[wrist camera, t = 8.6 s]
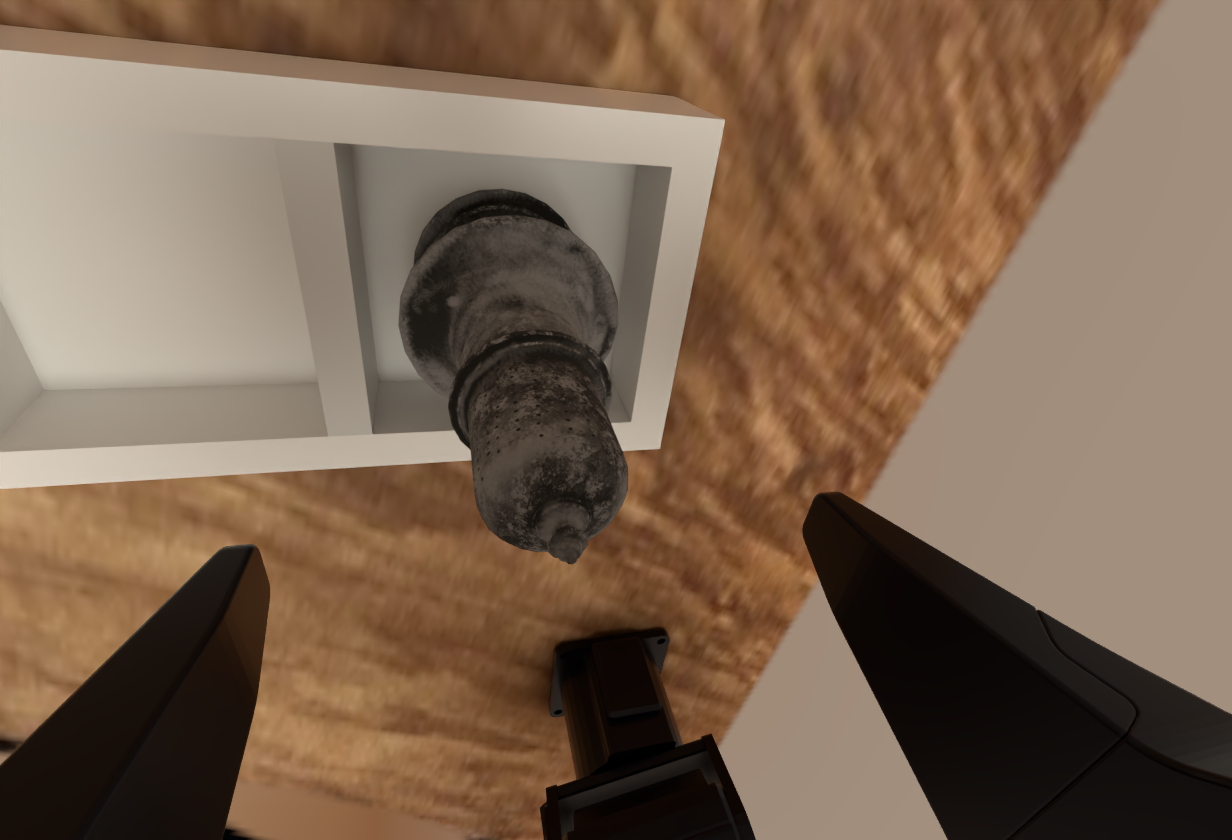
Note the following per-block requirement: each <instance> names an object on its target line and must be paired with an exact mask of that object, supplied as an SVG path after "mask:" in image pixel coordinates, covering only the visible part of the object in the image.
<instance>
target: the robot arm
mask: <svg viewBox="0 0 1232 840" xmlns="http://www.w3.org/2000/svg"><path fill="white" fill-rule="evenodd" d="M802 531H803V538H804V541H805V544H806V546H807V549H808V551H809V554H810V557H811V559H812V562H813V564H814V567H815V569H816V572H817V575H818V577H819V580H820V582H821V585H822V587H823V590H824V592H825V595H826V598H827V600H828V603H829V605H830V607H831V610H832V612H833V614H834V616H835V619H836V621H837V623H838V625H839V627H840V629H841V631H842V633H843V635H844V637H845V639H846V640H847V643H848V645H849V646H850V648H851V650H852V652H853V654H854V656H855V658H856V660H857V662H858V664H859V666H860V668H861V670H862V672H863V674H864V676H865V678H866V680H867V682H868V684H869V686H870V688H871V690H872V691H873V694H874V696H875V698H876V699H877V701H878V703H879V705H880V707H881V709H882V711H883V713H884V715H885V717H886V719H887V721H888V723H889V725H890V727H891V729H892V731H893V733H894V735H895V737H896V739H897V741H898V742H899V745H900V746H901V749H902V751H903V752H904V754H905V756H906V758H907V760H908V762H909V764H910V766H911V768H912V770H913V772H914V774H915V776H916V778H917V780H918V782H919V784H920V786H921V788H922V790H923V792H924V794H925V795H926V798H927V800H928V802H929V804H930V806H931V808H932V810H933V811H934V813H935V815H936V817H937V819H938V821H939V823H940V825H941V827H942V829H943V831H944V833H945V835H946V837H947V839H948V840H1232V714H1230V713H1228V712H1226V711H1224V710H1222V709H1220V708H1218V707H1216V706H1215V705H1213V704H1211V703H1209V702H1207V701H1205V700H1203V699H1201V698H1199V697H1197V696H1196V695H1194V694H1192V693H1190V692H1188V691H1186V690H1184V689H1182V688H1180V687H1178V686H1176V685H1175V684H1172V683H1171V682H1169V681H1167V680H1165V679H1163V678H1161V677H1159V676H1157V675H1156V674H1154V673H1152V672H1150V671H1148V670H1146V669H1144V668H1142V667H1140V666H1138V665H1136V664H1135V663H1133V662H1131V661H1129V660H1127V659H1125V658H1123V657H1122V656H1119V655H1118V654H1116V653H1114V652H1112V651H1110V650H1109V649H1107V648H1105V647H1103V646H1101V645H1099V644H1097V643H1096V642H1094V641H1092V640H1090V639H1088V638H1087V637H1085V636H1083V635H1082V634H1080V633H1078V632H1076V631H1075V630H1073V629H1071V628H1069V627H1068V626H1066V625H1064V624H1062V623H1061V622H1059V621H1057V620H1055V619H1054V618H1052V617H1051V616H1049V615H1047V614H1045V613H1044V612H1042V611H1041V610H1036V609H1035V607H1034V606H1032V605H1030V604H1029V603H1027V602H1025V601H1024V600H1022V599H1020V598H1019V597H1017V596H1015V595H1013V594H1012V593H1010V592H1008V591H1006V590H1005V589H1003V588H1002V587H1000V586H998V585H997V584H995V583H993V582H991V581H990V580H988V579H986V578H985V577H983V576H981V575H980V574H978V573H976V572H974V571H973V570H971V569H969V568H968V567H966V566H964V565H963V564H961V563H959V562H958V561H956V560H954V559H952V558H951V557H949V556H948V555H946V554H944V553H942V552H941V551H939V550H937V549H936V548H934V547H932V546H930V545H929V544H927V543H925V542H924V541H922V540H921V539H919V538H917V537H915V536H914V535H912V534H910V533H909V532H907V531H905V530H904V529H902V528H900V527H899V526H897V525H895V524H893V523H892V522H890V521H888V520H887V519H885V518H883V517H882V516H880V515H878V514H876V513H875V512H873V511H871V510H870V509H868V508H866V507H865V506H863V505H861V504H860V503H858V502H856V501H855V500H853V499H851V498H850V497H848V496H846V495H844V494H843V493H840V492H825V493H819V494H817V495H816V496H815V497H814V499H813V502H812V504H811V506H810V509H809V511H808V514H807V516H806V519H805V521H804V524H803V529H802ZM269 602H270V584H269V580H268V577H267V573H266V570H265V567H264V564H263V561H262V557H261V554H260V551H259V549H258V548H257V546H255V545H253V544H246V545H235V546H226V547H223V548H221V549H220V550H218V551H217V552H216V553H215V554H214V555H213V556H212V557H211V558H210V559H209V560H208V561H207V562H206V563H205V564H204V565H203V566H202V567H201V568H200V569H199V570H198V571H197V572H196V573H195V574H194V575H193V576H192V577H191V578H190V579H189V580H188V581H187V582H186V583H185V584H184V585H183V586H182V587H181V588H180V589H179V590H178V591H177V592H176V593H175V594H174V595H173V596H172V597H171V598H170V599H168V600H167V601H166V602H165V603H164V604H163V605H162V606H161V607H160V608H159V609H158V610H157V611H156V612H155V613H154V614H153V615H152V616H151V617H150V618H149V619H148V620H147V621H146V622H145V623H144V624H143V625H142V626H141V627H140V628H139V629H138V630H137V631H136V632H135V633H134V634H133V635H132V636H131V637H130V638H129V639H128V640H127V641H126V642H125V643H124V644H123V645H122V646H121V647H120V648H119V649H118V650H117V651H116V652H115V653H114V654H113V655H112V656H111V657H110V658H109V659H107V660H106V661H105V662H104V663H103V664H102V665H101V666H100V667H99V668H98V669H97V670H96V671H95V672H94V673H93V674H92V675H91V676H90V677H89V678H88V679H87V680H86V681H85V682H84V683H83V684H82V685H81V686H80V687H79V688H78V689H77V690H76V691H75V692H74V693H73V694H72V695H71V696H70V697H69V698H68V699H67V700H66V701H65V702H64V703H63V704H62V705H61V706H60V707H59V708H58V709H57V710H56V711H55V712H54V713H53V714H52V715H51V716H50V717H49V718H48V719H46V720H45V721H44V722H43V723H42V724H41V725H40V726H39V727H38V728H37V729H36V730H35V731H34V732H33V733H32V734H31V735H30V736H29V737H28V738H27V739H26V740H25V741H24V742H23V743H22V744H21V745H20V746H19V747H18V748H17V749H16V750H15V751H14V752H13V753H12V754H11V755H10V756H9V757H8V758H7V759H6V760H5V761H4V762H3V763H2V764H1V765H0V840H222V837H223V833H224V829H225V826H226V822H227V817H228V814H229V810H230V806H231V802H232V798H233V794H234V790H235V786H236V782H237V778H238V774H239V770H240V766H241V763H242V759H243V755H244V751H245V747H246V743H247V739H248V735H249V731H250V727H251V723H252V719H253V715H254V710H255V706H256V701H257V695H258V688H259V681H260V673H261V665H262V657H263V649H264V641H265V633H266V626H267V618H268V610H269ZM668 644H669V636H668V633H667V631H665V630H656V631H650V632H643V633H636V634H629V635H622V636H615V637H608V638H602V639H595V640H588V641H581V642H574V643H567V644H562V645H560V646H558V647H557V648H556V649H555V651H554V661H553V671H552V681H551V691H550V701H549V711H550V715H551V716H552V717H559V716H565V721H566V726H567V731H568V737H569V742H570V747H571V753H572V758H573V764H574V769H575V774H576V780H575V781H572V782H569V783H566V784H563V785H560V786H557V785H554V786H551V787H548V788H546V796H547V802H546V803H545V804H543V805H542V806H541V807H540V813H541V820H542V828H543V835H544V840H756V839H755V836H754V833H753V830H752V827H751V825H750V822H749V819H748V816H747V814H746V811H745V809H744V807H743V804H742V802H741V800H740V797H739V795H738V793H737V791H736V788H735V786H734V784H733V781H732V779H731V777H730V775H729V773H728V770H727V768H726V766H725V763H724V761H723V759H722V757H721V754H720V752H719V750H718V747H717V745H716V743H715V741H714V738H713V736H712V734H708V735H705V736H702V737H701V739H699V740H696V741H693V742H690V743H687V744H684V745H683V742H682V739H681V736H680V733H679V730H678V727H677V724H676V721H675V718H674V715H673V712H672V709H671V706H670V704H669V701H668V698H667V695H666V692H665V689H664V686H663V683H662V680H661V677H660V673H661V670H662V666H663V662H664V659H665V655H666V651H667V648H668Z"/></svg>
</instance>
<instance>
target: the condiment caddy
mask: <svg viewBox="0 0 1232 840" xmlns="http://www.w3.org/2000/svg"><path fill="white" fill-rule="evenodd" d="M724 124H725V119H723V118H720V117H718V116H716V115H714V114H712V113H710V112H707V111H705V110H703V109H701V108H699V107H697V106H695V105H692V104H690V103H688V102H686V101H684V100H682V99H679V98H677V97H675V96H669V95H659V94H650V93H640V92H631V91H622V90H612V89H603V88H593V87H584V86H574V85H565V84H555V83H546V82H537V81H527V80H518V79H508V78H499V77H489V76H480V75H471V74H461V73H452V72H442V71H433V70H423V69H414V68H404V67H395V66H386V65H376V64H367V63H357V62H348V61H338V60H329V59H320V58H310V57H301V56H291V55H282V54H272V53H263V52H253V51H244V50H235V49H225V48H216V47H206V46H197V45H187V44H178V43H168V42H159V41H150V40H140V39H131V38H121V37H112V36H102V35H93V34H84V33H74V32H65V31H55V30H46V29H36V28H27V27H17V26H8V25H0V489H7V488H24V487H40V486H57V485H73V484H90V483H106V482H122V481H139V480H155V479H172V478H188V477H205V476H221V475H238V474H254V473H270V472H287V471H303V470H320V469H336V468H353V467H369V466H385V465H402V464H418V463H435V462H451V461H468V460H471V450H470V449H469V448H468V447H467V446H466V445H464V444H463V443H462V442H461V441H460V439H459V437H458V436H457V434H456V432H455V430H454V429H453V427H452V425H451V420H450V415H449V410H448V402H449V399H447V398H445V397H443V396H442V395H440V394H438V393H437V392H436V391H435V390H434V389H433V388H432V387H430V386H429V385H428V384H427V383H426V382H425V381H424V380H423V379H422V378H421V377H420V376H419V375H418V374H417V372H416V370H415V368H414V367H413V365H412V363H411V362H410V360H409V358H408V356H407V355H406V353H405V351H404V347H403V343H402V339H401V334H400V330H399V326H398V323H399V308H400V296H401V293H402V291H403V288H404V285H405V283H406V280H407V278H408V275H409V272H410V270H411V269H412V267H413V266H414V253H415V249H416V247H417V244H418V241H419V239H420V236H421V233H422V231H423V229H424V228H425V227H426V226H427V224H428V223H429V222H430V220H431V219H432V218H433V216H434V215H435V214H436V213H437V212H438V211H439V210H441V209H442V208H443V207H445V206H446V205H448V204H449V203H450V202H452V201H453V200H455V199H456V198H459V197H462V196H464V195H467V194H470V193H473V192H475V191H478V190H492V189H506V190H511V191H517V192H522V193H526V194H528V195H530V196H532V197H534V198H536V199H538V200H540V201H542V202H544V203H546V204H548V205H549V206H550V207H551V208H552V209H553V210H554V211H556V212H557V213H558V214H559V215H560V216H561V217H562V218H563V219H564V220H565V222H566V223H567V225H568V226H569V228H570V229H571V231H572V232H573V233H574V234H575V235H577V236H578V237H579V238H580V239H581V240H582V241H583V242H585V243H586V244H587V245H588V246H589V247H590V248H591V249H593V250H594V251H595V252H596V254H597V255H598V257H599V258H600V260H601V262H602V263H603V265H604V266H605V268H606V269H607V271H608V272H609V274H610V276H611V279H612V282H613V286H614V289H615V292H616V296H617V299H618V327H617V331H616V334H615V338H614V342H613V345H612V349H611V351H610V353H609V354H608V356H607V358H606V359H605V361H604V363H605V365H606V367H607V370H608V373H609V376H610V379H611V382H612V403H611V406H610V409H609V412H608V417H609V420H610V422H611V425H612V427H613V429H614V432H615V434H616V437H617V439H618V442H619V444H620V446H621V449H622V451H632V450H649V449H660V445H661V440H662V435H663V430H664V425H665V420H666V415H667V410H668V405H669V400H670V395H671V390H672V385H673V380H674V375H675V370H676V365H677V360H678V355H679V350H680V345H681V340H682V335H683V330H684V325H685V320H686V315H687V310H688V304H689V299H690V294H691V289H692V284H693V279H694V274H695V269H696V264H697V259H698V254H699V249H700V244H701V239H702V234H703V229H704V224H705V219H706V214H707V209H708V204H709V199H710V194H711V189H712V184H713V179H714V174H715V169H716V164H717V159H718V154H719V149H720V144H721V139H722V134H723V129H724Z"/></svg>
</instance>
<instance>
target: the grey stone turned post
mask: <svg viewBox="0 0 1232 840" xmlns="http://www.w3.org/2000/svg"><path fill="white" fill-rule="evenodd" d="M398 326H399V330H400V334H401V339H402V343H403V347H404V351H405V353H406V355H407V356H408V358H409V360H410V362H411V363H412V365H413V367H414V368H415V370H416V372H417V374H418V375H419V376H420V377H421V378H422V379H423V380H424V381H425V382H426V383H427V384H428V385H429V386H430V387H432V388H433V389H434V390H435V391H436V392H437V393H438V394H440V395H442V396H443V397H445V398H447V399H449V402H448V410H449V415H450V420H451V425H452V427H453V429H454V430H455V432H456V434H457V436H458V437H459V439H460V441H461V442H462V443H463V444H464V445H466V446H467V447H468V448H469V449H470V450H471V460H472V471H473V482H474V493H475V498H476V503H477V508H478V510H479V512H480V515H481V517H482V519H483V520H484V522H485V523H486V525H487V527H488V528H489V530H490V531H492V532H493V533H494V534H495V535H497V536H498V537H499V538H500V539H502V540H504V541H505V542H507V543H509V544H511V545H514V546H516V547H518V548H521V549H524V550H530V551H535V552H549V553H550V554H551V555H552V556H553V557H555V558H559V559H560V560H561V561H564V562H567V563H568V564H574V563H575V562H576V561H577V559H578V558H579V557H580V556H581V554H582V552H583V550H584V549H585V548H586V546H587V545H588V540H589V539H591V538H593V537H594V536H596V535H598V534H599V533H600V532H601V531H602V530H603V529H604V528H606V527H607V526H608V525H609V524H610V523H611V521H612V520H613V518H614V517H615V515H616V514H617V513H618V511H619V509H620V508H621V506H622V505H623V502H624V499H625V497H626V494H627V491H628V467H627V463H626V460H625V457H624V454H623V451H622V449H621V446H620V444H619V442H618V439H617V437H616V434H615V432H614V429H613V427H612V425H611V422H610V420H609V417H608V412H609V409H610V406H611V403H612V382H611V379H610V376H609V373H608V370H607V367H606V365H605V363H604V361H605V359H606V358H607V356H608V354H609V353H610V351H611V349H612V345H613V342H614V338H615V334H616V331H617V327H618V299H617V296H616V292H615V289H614V286H613V282H612V279H611V276H610V274H609V272H608V271H607V269H606V268H605V266H604V265H603V263H602V262H601V260H600V258H599V257H598V255H597V254H596V252H595V251H594V250H593V249H591V248H590V247H589V246H588V245H587V244H586V243H585V242H583V241H582V240H581V239H580V238H579V237H578V236H577V235H575V234H574V233H573V232H572V231H571V229H570V228H569V226H568V225H567V223H566V222H565V220H564V219H563V218H562V217H561V216H560V215H559V214H558V213H557V212H556V211H554V210H553V209H552V208H551V207H550V206H549V205H548V204H546V203H544V202H542V201H540V200H538V199H536V198H534V197H532V196H530V195H528V194H526V193H522V192H517V191H511V190H506V189H492V190H478V191H475V192H473V193H470V194H467V195H464V196H462V197H459V198H456V199H455V200H453V201H452V202H450V203H449V204H448V205H446V206H445V207H443V208H442V209H441V210H439V211H438V212H437V213H436V214H435V215H434V216H433V218H432V219H431V220H430V222H429V223H428V224H427V226H426V227H425V228H424V229H423V231H422V233H421V236H420V239H419V241H418V244H417V247H416V249H415V253H414V266H413V267H412V269H411V270H410V272H409V275H408V278H407V280H406V283H405V285H404V288H403V291H402V293H401V296H400V308H399V323H398Z"/></svg>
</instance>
